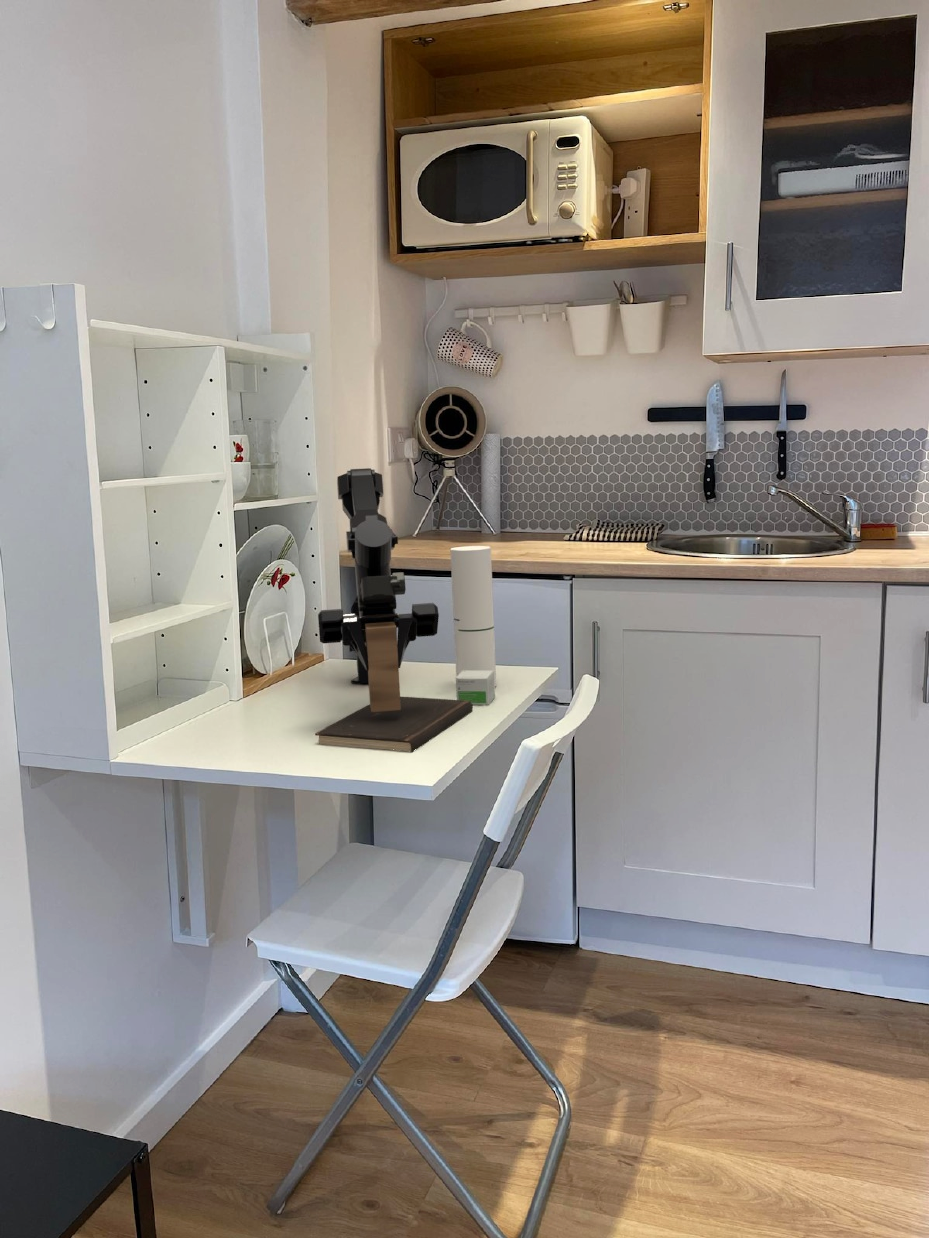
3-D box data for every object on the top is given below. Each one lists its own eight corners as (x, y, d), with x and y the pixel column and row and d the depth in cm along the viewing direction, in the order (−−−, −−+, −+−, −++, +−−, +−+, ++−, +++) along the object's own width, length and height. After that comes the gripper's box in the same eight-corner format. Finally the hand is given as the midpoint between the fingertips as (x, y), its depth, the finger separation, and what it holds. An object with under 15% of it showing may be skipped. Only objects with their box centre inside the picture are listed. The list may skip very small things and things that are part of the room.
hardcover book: (316, 747, 154) (315, 733, 153) (386, 708, 174) (385, 695, 174) (412, 756, 147) (411, 740, 147) (473, 714, 168) (472, 700, 168)
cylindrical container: (482, 679, 190) (477, 545, 185) (503, 686, 184) (498, 547, 179) (449, 685, 186) (442, 548, 182) (469, 693, 180) (463, 551, 176)
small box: (456, 705, 173) (454, 677, 172) (463, 697, 178) (462, 669, 177) (489, 706, 171) (488, 677, 170) (495, 697, 177) (494, 669, 176)
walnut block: (369, 704, 161) (365, 623, 159) (398, 702, 162) (393, 621, 160) (371, 712, 157) (366, 628, 155) (400, 709, 158) (396, 626, 155)
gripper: (314, 559, 158) (319, 642, 149) (434, 552, 161) (446, 634, 152) (317, 601, 167) (322, 683, 158) (431, 594, 170) (442, 674, 161)
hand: (383, 667), depth 157 cm, fingers closed on walnut block, 4 cm apart
